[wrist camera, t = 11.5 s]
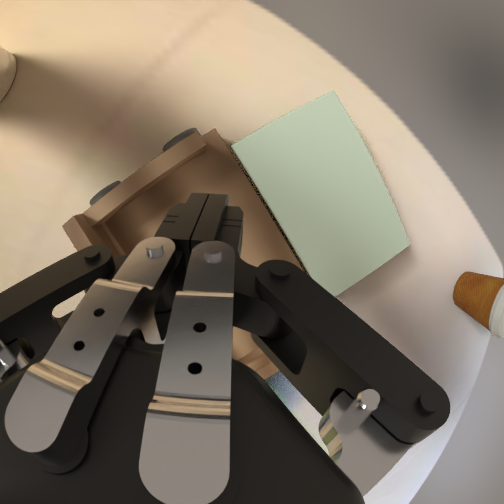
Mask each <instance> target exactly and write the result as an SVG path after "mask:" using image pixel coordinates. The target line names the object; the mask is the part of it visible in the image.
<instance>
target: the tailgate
mask: <svg viewBox="0 0 504 504" xmlns="http://www.w3.org/2000/svg"><path fill="white" fill-rule="evenodd" d="M231 148H232V150H233V151H234V153H235V154H236V156H237V157H238V159H239V160H240V162H241V164H242V165H243V167H244V168H245V170H246V172H247V173H248V175H249V176H250V178H251V179H252V181H253V183H254V184H255V186H256V187H257V189H258V191H259V192H260V194H261V195H262V197H263V199H264V200H265V202H266V204H267V205H268V207H269V208H270V210H271V212H272V213H273V215H274V217H275V218H276V220H277V222H278V223H279V225H280V227H281V228H282V230H283V232H284V233H285V235H286V237H287V238H288V240H289V242H290V243H291V245H292V247H293V248H294V250H295V252H296V253H297V255H298V257H299V258H300V260H301V262H302V264H303V265H304V267H305V269H306V270H307V272H308V274H309V276H310V277H311V278H312V279H313V280H315V281H316V282H317V283H318V284H320V285H321V286H322V287H323V288H324V289H326V290H327V291H328V292H329V293H330V294H332V295H333V296H334V297H336V296H337V295H339V294H340V293H342V292H343V291H345V290H346V289H348V288H349V287H351V286H352V285H354V284H355V283H357V282H358V281H360V280H361V279H363V278H364V277H366V276H367V275H369V274H370V273H372V272H373V271H374V270H376V269H377V268H379V267H380V266H382V265H383V264H384V263H386V262H387V261H389V260H390V259H391V258H393V257H394V256H396V255H397V254H398V253H400V252H401V251H402V250H404V249H405V248H406V247H408V246H409V245H410V242H409V240H408V237H407V234H406V232H405V229H404V227H403V224H402V222H401V219H400V217H399V214H398V212H397V210H396V207H395V205H394V203H393V200H392V198H391V196H390V194H389V191H388V189H387V187H386V185H385V183H384V181H383V178H382V176H381V174H380V172H379V170H378V168H377V166H376V164H375V162H374V160H373V158H372V156H371V154H370V152H369V150H368V148H367V146H366V145H365V143H364V141H363V139H362V137H361V135H360V133H359V132H358V130H357V128H356V126H355V124H354V123H353V121H352V119H351V117H350V116H349V114H348V112H347V111H346V109H345V107H344V106H343V104H342V102H341V101H340V99H339V97H338V96H337V94H336V93H335V91H334V90H333V91H331V92H329V93H327V94H325V95H323V96H321V97H319V98H317V99H315V100H313V101H311V102H309V103H307V104H305V105H303V106H301V107H299V108H297V109H295V110H293V111H291V112H289V113H288V114H286V115H284V116H282V117H280V118H278V119H276V120H275V121H273V122H271V123H269V124H267V125H266V126H264V127H262V128H260V129H259V130H257V131H255V132H253V133H252V134H250V135H248V136H246V137H245V138H243V139H241V140H240V141H238V142H236V143H235V144H233V145H231Z"/></svg>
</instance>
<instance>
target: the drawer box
mask: <svg viewBox="0 0 504 504" xmlns="http://www.w3.org/2000/svg"><path fill="white" fill-rule="evenodd" d="M163 151H164V152H163V153H162V154H161V155H159V156H158V157H156V158H155V159H153V160H152V161H150V162H149V163H147V164H146V165H145V166H143V167H142V168H140V169H139V170H138V171H136V172H135V173H134V174H132V175H131V176H129V177H128V178H127V179H125V180H124V181H123V182H120V181H116V182H114V183H112V184H110V185H109V186H107V187H105V188H104V189H103V190H101V191H100V192H99V193H97V194H96V195H95V196H94V197H93V198H92V199H91V200H90V205H91V207H90V208H89V209H88V210H86V211H85V212H84V213H83V214H79V215H75V216H73V217H72V218H71V219H70V220H68V221H67V222H66V223H65V224H64V225H63V226H62V227H63V229H64V230H65V232H66V234H67V235H68V237H69V238H70V240H71V242H72V243H73V245H74V246H75V248H76V249H77V251H80V250H82V249H84V248H86V247H88V246H91V245H97V244H101V245H106V246H108V247H109V248H110V249H111V251H112V255H113V257H115V256H123V255H130V253H131V252H132V251H133V249H134V248H135V247H136V245H137V244H138V243H140V242H141V241H143V240H145V239H147V238H151V237H154V235H155V233H156V232H157V230H158V228H159V227H160V225H161V223H162V222H163V220H164V218H165V217H166V215H167V213H168V211H169V210H170V208H172V207H173V206H175V205H176V204H178V203H186V201H187V200H188V198H189V196H190V194H191V193H192V192H197V193H209V194H210V193H217V194H228V206H238V207H240V208H241V210H242V211H243V213H244V216H243V236H242V248H241V255H240V258H241V259H242V260H243V261H245V262H246V263H248V264H250V265H253V266H256V267H258V266H259V265H260V264H262V263H263V262H265V261H268V260H285V261H288V262H291V263H293V264H295V265H296V266H297V267H299V268H300V269H301V270H302V271H303V269H302V267H301V266H300V264H299V262H298V261H297V259H296V257H295V256H294V254H293V252H292V250H291V249H290V247H289V245H288V244H287V242H286V240H285V239H284V237H283V235H282V234H281V232H280V231H279V229H278V227H277V226H276V224H275V222H274V221H273V219H272V217H271V216H270V214H269V212H268V211H267V209H266V208H265V206H264V204H263V203H262V201H261V200H260V198H259V196H258V195H257V193H256V191H255V190H254V188H253V187H252V185H251V184H250V182H249V180H248V179H247V177H246V176H245V174H244V172H243V171H242V169H241V168H240V166H239V165H238V163H237V161H236V160H235V158H234V157H233V155H232V154H231V152H230V151H229V149H228V147H227V146H226V144H225V143H224V141H223V140H222V138H221V137H220V135H219V134H218V132H217V131H216V129H213V130H211V131H210V132H208V133H206V134H205V135H203V136H202V137H201V135H200V134H199V132H198V131H197V129H196V128H192V129H189V130H187V131H185V132H183V133H181V134H179V135H178V136H176V137H175V138H173V139H172V140H171V141H169V142H168V143H167V144H166V145H165V146H164V147H163ZM232 359H235V360H237V361H239V362H241V363H243V364H245V365H247V366H248V367H250V368H251V369H253V370H254V371H255V372H257V373H258V374H259V375H260V376H261V377H262V378H263V379H264V380H265V379H267V378H268V377H270V376H272V375H273V374H275V373H277V372H278V371H280V370H279V369H278V368H277V367H276V366H275V365H274V364H273V363H272V361H271V360H270V359H269V358H268V357H267V356H266V355H265V354H264V352H263V351H262V350H261V349H260V348H259V347H258V346H257V345H256V343H255V342H254V341H253V340H252V337H251V332H248V331H245V330H242V329H240V328H237V327H234V326H233V350H232Z"/></svg>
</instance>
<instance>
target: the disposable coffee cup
mask: <svg viewBox="0 0 504 504" xmlns="http://www.w3.org/2000/svg"><path fill="white" fill-rule="evenodd" d="M453 299H454V303H455V304H456V305H457V306H458V307H460V308H461V309H462V310H464V311H465V312H466V313H468V314H469V315H470V316H471V317H473V318H474V319H475V320H477V321H478V322H479V323H480V324H482V325H483V326H484V327H486V328H487V329H488V330H489V331H490V332H491V334H492V336H493V337H495V338H504V278H498V277H493V276H488V275H483V274H478V273H473V272H465V273H463V274H462V275H461V276H460V278H459V279H458V281H457V283H456V285H455V288H454V293H453Z"/></svg>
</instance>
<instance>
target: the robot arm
mask: <svg viewBox="0 0 504 504" xmlns="http://www.w3.org/2000/svg"><path fill="white" fill-rule="evenodd" d="M16 67H17V65H16V59H15V57H14V55H13V54H11V53H10V52H8V51H7V50H5V49H4V48H2V47H1V46H0V101H1V100H2V99H3V98H4V96H5V95H6V93H7V92H8V90H9V88H10V87H11V85H12V82H13V80H14V77H15V73H16ZM243 216H244V213H243V211H242V210H241V208H240V207H238V206H228V194H217V193H210V194H209V193H197V192H192V193H191V194H190V196H189V198H188V200H187V201H186V203H178V204H176V205H175V206H173V207H172V208H170V210H169V211H168V213H167V215H166V217H165V218H164V220H163V222H162V223H161V225H160V227H159V228H158V230H157V232H156V233H155V235H154V237H151V238H147V239H145V240H143V241H141V242H140V243H138V244H137V245H136V247H135V248H134V249H133V251H132V252H131V253H130V255H123V256H115V257H113V255H112V251H111V249H110V248H109V247H108V246H106V245H101V244H97V245H91V246H88V247H86V248H84V249H82V250H80V251H78V252H76V253H74V254H72V255H70V256H68V257H66V258H64V259H62V260H60V261H58V262H56V263H54V264H52V265H50V266H48V267H46V268H45V269H43V270H41V271H39V272H37V273H35V274H33V275H32V276H30V277H28V278H26V279H24V280H23V281H21V282H19V283H17V284H15V285H14V286H12V287H10V288H8V289H7V290H5V291H3V292H2V293H0V504H365V502H364V499H363V496H364V495H365V494H367V493H368V492H369V491H370V490H371V489H372V488H373V487H374V486H375V485H376V484H377V483H378V482H379V481H380V480H381V479H382V478H383V477H384V476H385V475H386V474H387V473H388V472H389V471H390V470H391V469H392V468H393V466H394V465H395V464H396V463H397V462H398V461H399V460H400V459H401V458H402V456H403V455H404V454H405V453H406V452H407V451H408V450H409V449H410V448H411V447H413V446H414V445H416V444H417V443H419V442H420V441H422V440H423V439H425V438H426V437H427V436H429V435H430V434H432V433H433V432H434V431H436V430H437V429H438V428H440V427H441V426H442V425H443V424H444V423H445V422H446V421H447V419H448V417H449V414H450V402H449V398H448V396H447V394H446V392H445V391H444V390H443V388H442V387H441V386H439V385H438V384H437V383H436V382H435V381H434V380H432V379H431V378H430V377H429V376H428V375H427V374H426V373H424V372H423V371H422V370H421V369H420V368H419V367H417V366H416V365H415V364H414V363H413V362H412V361H410V360H409V359H408V358H407V357H406V356H405V355H403V354H402V353H401V352H400V351H399V350H397V349H396V348H395V347H394V346H393V345H392V344H390V343H389V342H388V341H387V340H386V339H384V338H383V337H382V336H381V335H380V334H379V333H377V332H376V331H375V330H374V329H373V328H371V327H370V326H369V325H368V324H367V323H365V322H364V321H363V320H362V319H361V318H359V317H358V316H357V315H356V314H355V313H353V312H352V311H351V310H350V309H349V308H347V307H346V306H345V305H344V304H343V303H341V302H340V301H339V300H338V299H337V298H335V297H334V296H333V295H332V294H330V293H329V292H328V291H327V290H326V289H324V288H323V287H322V286H321V285H320V284H318V283H317V282H316V281H315V280H313V279H312V278H311V277H310V276H309V275H307V274H306V273H305V272H304V271H302V270H301V269H300V268H299V267H297V266H296V265H295V264H293V263H291V262H288V261H285V260H268V261H265V262H263V263H262V264H260V265H259V266H258V267H256V266H253V265H250V264H248V263H246V262H245V261H243V260H242V259H241V258H240V255H241V248H242V236H243ZM83 290H84V291H85V296H84V297H83V299H82V300H81V301H80V303H79V304H78V306H77V307H76V309H75V310H74V311H72V312H70V313H68V314H67V315H65V316H63V317H61V318H55V317H54V316H53V315H52V311H53V309H54V307H55V306H56V305H58V304H60V303H61V302H63V301H65V300H67V299H68V298H70V297H72V296H74V295H76V294H77V293H79V292H81V291H83ZM233 326H234V327H237V328H240V329H242V330H245V331H248V332H251V337H252V340H253V341H254V342H255V343H256V345H257V346H258V347H259V348H260V349H261V350H262V351H263V352H264V354H265V355H266V356H267V357H268V358H269V359H270V360H271V361H272V363H273V364H274V365H275V366H276V367H277V368H278V369H279V370H280V371H281V373H282V374H283V375H284V376H285V377H286V378H287V379H288V380H289V381H290V382H291V383H292V385H293V386H294V387H295V388H296V389H297V390H298V391H299V392H300V393H301V394H302V395H303V396H304V397H305V398H306V399H307V401H308V402H309V403H310V404H311V405H312V406H313V407H314V408H315V409H316V410H317V411H318V412H319V413H320V414H321V415H322V416H323V417H322V418H321V420H320V423H319V434H320V437H321V439H322V441H323V442H324V443H325V445H326V446H327V448H328V451H329V456H328V455H327V453H326V452H325V451H324V450H323V449H322V448H321V447H320V446H319V444H318V443H317V442H316V441H315V440H314V439H313V438H312V437H311V435H310V434H309V433H308V432H307V431H306V430H305V428H304V427H303V426H302V425H301V424H300V423H299V421H298V420H297V419H296V418H295V417H294V416H293V414H292V413H291V412H290V411H289V410H288V408H287V407H286V406H285V405H284V404H283V402H282V401H281V400H280V399H279V397H278V396H277V395H276V394H275V393H274V391H273V390H272V389H271V388H270V386H269V385H268V384H267V383H266V381H265V380H264V379H263V378H262V377H261V376H260V375H259V374H258V373H257V372H255V371H254V370H253V369H251V368H250V367H248V366H247V365H245V364H243V363H241V362H239V361H237V360H235V359H232V350H233Z"/></svg>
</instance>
